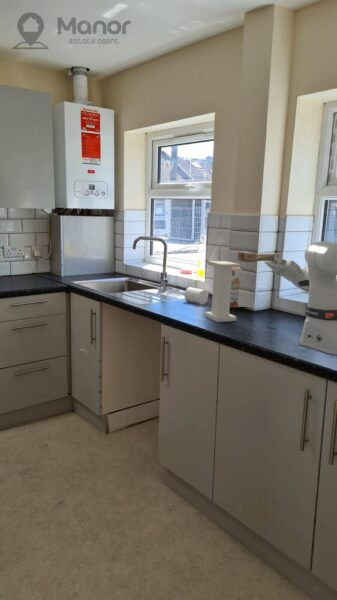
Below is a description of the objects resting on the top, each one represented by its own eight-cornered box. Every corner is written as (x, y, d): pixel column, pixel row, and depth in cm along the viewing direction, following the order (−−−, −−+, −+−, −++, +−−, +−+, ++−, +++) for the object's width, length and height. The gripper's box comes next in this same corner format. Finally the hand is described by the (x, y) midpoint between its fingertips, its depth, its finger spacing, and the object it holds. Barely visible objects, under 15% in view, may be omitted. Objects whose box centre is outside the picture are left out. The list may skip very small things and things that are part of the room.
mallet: (282, 260, 214) (283, 252, 213) (247, 262, 206) (247, 253, 205) (271, 259, 221) (272, 250, 220) (237, 260, 213) (237, 251, 212)
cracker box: (222, 308, 234) (224, 267, 230) (217, 305, 239) (220, 266, 235) (246, 307, 237) (250, 268, 233) (242, 305, 243) (245, 266, 239)
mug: (198, 305, 238) (199, 290, 236) (183, 302, 244) (184, 287, 243) (211, 302, 246) (212, 288, 245) (197, 299, 253) (198, 285, 251)
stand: (235, 320, 207) (240, 264, 202) (217, 322, 202) (221, 264, 198) (222, 314, 217) (226, 261, 212) (204, 316, 213) (207, 261, 208)
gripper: (300, 279, 213) (281, 264, 206) (273, 272, 231) (255, 259, 225) (307, 267, 213) (288, 252, 207) (279, 262, 231) (261, 248, 225)
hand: (271, 256), depth 216 cm, fingers closed on mallet, 3 cm apart
